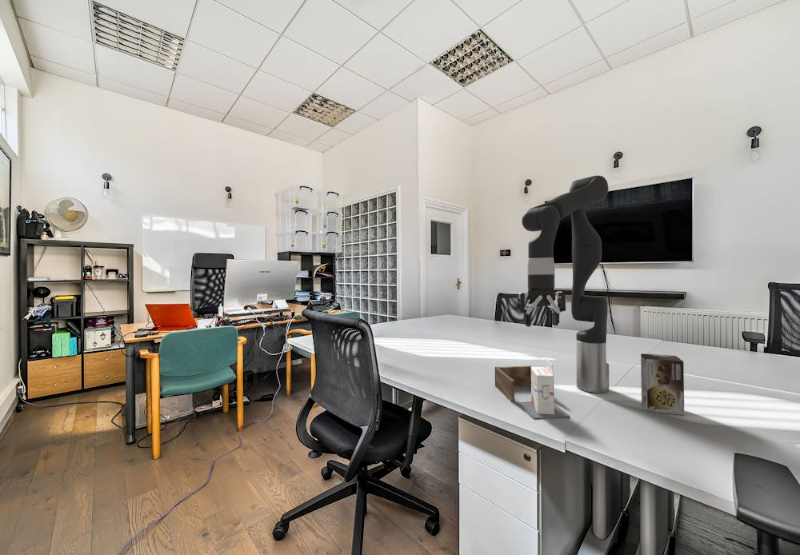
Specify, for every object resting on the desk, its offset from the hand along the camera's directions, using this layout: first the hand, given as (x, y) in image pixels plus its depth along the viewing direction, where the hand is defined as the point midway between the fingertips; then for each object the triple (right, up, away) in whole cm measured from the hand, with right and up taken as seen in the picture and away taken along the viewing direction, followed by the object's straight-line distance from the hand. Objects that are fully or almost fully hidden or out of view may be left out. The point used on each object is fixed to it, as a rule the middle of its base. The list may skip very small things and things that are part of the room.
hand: (541, 325), depth 98 cm
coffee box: (+37, -26, 0) cm, 45 cm away
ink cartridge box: (0, -26, +1) cm, 26 cm away
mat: (0, -26, 0) cm, 26 cm away
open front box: (0, -26, +14) cm, 29 cm away
